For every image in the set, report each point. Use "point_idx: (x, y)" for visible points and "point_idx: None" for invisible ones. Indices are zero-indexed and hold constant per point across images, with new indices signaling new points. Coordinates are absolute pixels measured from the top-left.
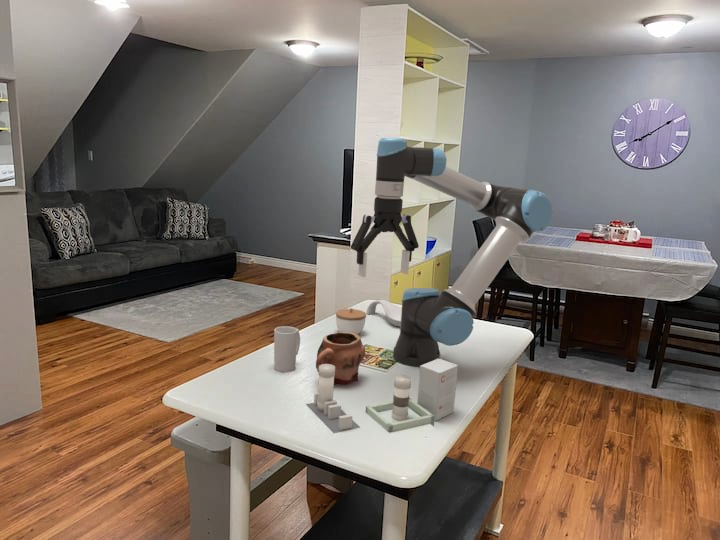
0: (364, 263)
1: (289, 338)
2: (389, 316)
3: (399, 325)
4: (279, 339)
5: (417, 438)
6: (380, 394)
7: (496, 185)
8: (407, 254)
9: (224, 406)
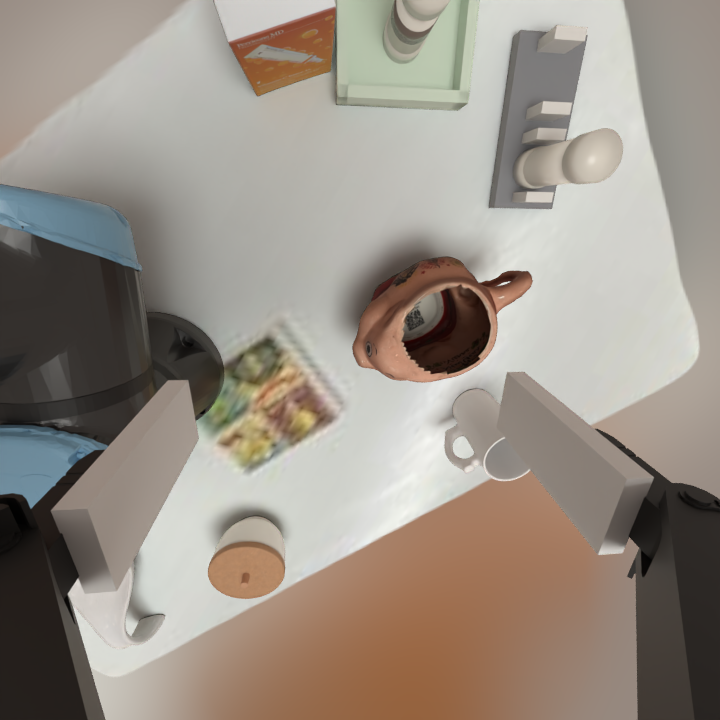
0: (578, 420)
1: None
2: (130, 572)
3: None
4: None
5: None
6: (358, 211)
7: None
8: (106, 482)
9: (655, 286)
